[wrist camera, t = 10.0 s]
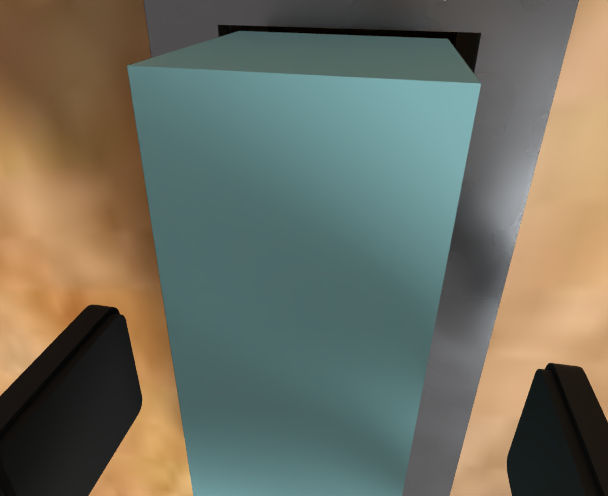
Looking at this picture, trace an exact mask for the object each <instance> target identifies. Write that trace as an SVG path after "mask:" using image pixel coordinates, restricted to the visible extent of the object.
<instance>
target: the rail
mask: <svg viewBox="0 0 608 496" xmlns="http://www.w3.org/2000/svg"><path fill="white" fill-rule="evenodd" d="M578 2H579V0H144V6H145V14H146V21H147V29H148V36H149V44H150V51H151V58H153V57H156V56H160V55H163V54H166V53H169V52H173V51H176V50H179V49H182V48H186V47H189V46H192V45H195V44H198V43H202V42H205V41H208V40H211V39H215V38H218V37H221V36H224V35H227V34H231V33H234V32H237V31H255V32H268V26H278V27H311V28H343V29H376V30H409V31H442V32H457V38H456V45H455V49H456V50H457V52H458V53H459V54H460V56H461V57H462V58H463V60H464V61H465V62H466V64H467V65H468V67H469V68H470V69H471V71H472V72H473V73H474V75H475V76H476V77H477V79H478V80H479V81H480V83H481V87H480V92H479V97H478V103H477V108H476V113H475V118H474V123H473V129H472V134H471V139H470V144H469V149H468V155H467V160H466V165H465V170H464V176H463V181H462V186H461V191H460V196H459V202H458V207H457V212H456V217H455V223H454V228H453V233H452V238H451V243H450V249H449V254H448V259H447V264H446V270H445V275H444V280H443V285H442V290H441V296H440V301H439V306H438V311H437V316H436V322H435V327H434V332H433V337H432V343H431V348H430V353H429V358H428V363H427V369H426V374H425V379H424V384H423V390H422V395H421V400H420V405H419V410H418V416H417V421H416V426H415V431H414V436H413V442H412V447H411V452H410V457H409V463H408V468H407V473H406V478H405V483H404V489H403V494H402V496H449V495H450V491H451V488H452V484H453V480H454V476H455V472H456V469H457V465H458V461H459V457H460V453H461V449H462V446H463V442H464V438H465V434H466V430H467V426H468V423H469V419H470V415H471V411H472V407H473V403H474V400H475V396H476V392H477V388H478V384H479V381H480V377H481V373H482V369H483V365H484V361H485V358H486V354H487V350H488V346H489V342H490V338H491V335H492V331H493V327H494V323H495V319H496V316H497V312H498V308H499V304H500V300H501V296H502V293H503V289H504V285H505V281H506V277H507V273H508V270H509V266H510V262H511V258H512V254H513V250H514V247H515V243H516V239H517V235H518V231H519V228H520V224H521V220H522V216H523V212H524V208H525V205H526V201H527V197H528V193H529V189H530V185H531V182H532V178H533V174H534V170H535V166H536V163H537V159H538V155H539V151H540V147H541V143H542V140H543V136H544V132H545V128H546V124H547V120H548V117H549V113H550V109H551V105H552V101H553V97H554V94H555V90H556V86H557V82H558V78H559V75H560V71H561V67H562V63H563V59H564V55H565V52H566V48H567V44H568V40H569V36H570V32H571V29H572V25H573V21H574V17H575V13H576V10H577V6H578Z"/></svg>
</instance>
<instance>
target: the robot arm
mask: <svg viewBox="0 0 608 496" xmlns="http://www.w3.org/2000/svg"><path fill="white" fill-rule="evenodd" d="M141 406H142V394H141V389H140V385H139V380H138V375H137V371H136V366H135V361H134V356H133V352H132V347H131V342H130V338H129V333H128V328H127V323H126V319H125V317H124V316H123V315H121V314H120V313H119V311H118V309H117V308H114V307H108V306H100V305H89V306H88V307H86V308H85V309H84V310H83V311H82V312H81V313H80V314H79V315H78V316H77V318H76V319H75V320H74V321H73V322H72V323H71V324H70V325H69V326H68V327H67V328H66V329H65V330H64V331H63V332H62V333H61V334H60V335H59V336H58V337H57V338H56V339H55V340H54V341H53V342H52V343H51V344H50V345H49V346H48V347H47V348H46V349H45V350H44V352H43V353H42V354H41V355H40V356H39V357H38V358H37V359H36V360H35V361H34V362H33V363H32V364H31V365H30V366H29V367H28V368H27V369H26V370H25V371H24V372H23V373H22V374H21V375H20V376H19V377H18V378H17V379H16V380H15V381H14V382H13V383H12V384H11V386H10V387H9V388H8V389H7V390H6V391H5V392H4V393H3V394H2V395H1V396H0V496H88V495H89V494H90V492H91V491H92V489H93V487H94V486H95V484H96V482H97V481H98V479H99V477H100V476H101V474H102V473H103V471H104V469H105V468H106V466H107V464H108V463H109V461H110V460H111V458H112V456H113V455H114V453H115V451H116V450H117V448H118V446H119V445H120V443H121V442H122V440H123V438H124V437H125V435H126V433H127V432H128V430H129V429H130V427H131V425H132V424H133V422H134V420H135V419H136V417H137V415H138V414H139V412H140V409H141ZM507 473H508V478H509V483H510V488H511V492H512V496H608V422H607V420H606V417H605V415H604V413H603V411H602V409H601V407H600V404H599V402H598V400H597V398H596V396H595V394H594V391H593V389H592V387H591V385H590V383H589V380H588V378H587V376H586V374H585V372H584V370H583V369H582V368H581V367H578V366H570V365H562V364H555V363H549V364H548V365H547V366H546V368H545V370H544V369H538V370H537V371H536V373H535V376H534V379H533V382H532V385H531V388H530V391H529V394H528V396H527V399H526V402H525V405H524V408H523V411H522V414H521V417H520V420H519V423H518V426H517V429H516V432H515V435H514V438H513V441H512V444H511V447H510V450H509V453H508V457H507Z"/></svg>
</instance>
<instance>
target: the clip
mask: <svg viewBox="0 0 608 496" xmlns="http://www.w3.org/2000/svg"><path fill="white" fill-rule="evenodd" d="M127 69H128V75H129V82H130V88H131V95H132V101H133V108H134V114H135V121H136V127H137V134H138V140H139V147H140V153H141V160H142V166H143V172H144V179H145V185H146V192H147V198H148V205H149V211H150V218H151V224H152V231H153V237H154V244H155V250H156V257H157V263H158V269H159V276H160V282H161V289H162V295H163V302H164V308H165V315H166V321H167V328H168V334H169V341H170V347H171V354H172V360H173V367H174V373H175V379H176V386H177V392H178V399H179V405H180V412H181V418H182V425H183V431H184V438H185V444H186V451H187V457H188V464H189V470H190V476H191V483H192V489H193V496H402V494H403V489H404V483H405V478H406V473H407V468H408V463H409V457H410V452H411V447H412V442H413V436H414V431H415V426H416V421H417V416H418V410H419V405H420V400H421V395H422V390H423V384H424V379H425V374H426V369H427V363H428V358H429V353H430V348H431V343H432V337H433V332H434V327H435V322H436V316H437V311H438V306H439V301H440V296H441V290H442V285H443V280H444V275H445V270H446V264H447V259H448V254H449V249H450V243H451V238H452V233H453V228H454V223H455V217H456V212H457V207H458V202H459V196H460V191H461V186H462V181H463V176H464V170H465V165H466V160H467V155H468V149H469V144H470V139H471V134H472V129H473V123H474V118H475V113H476V108H477V103H478V97H479V92H480V87H481V83H480V81H479V80H478V79H477V77H476V76H475V75H474V73H473V72H472V71H471V69H470V68H469V67H468V65H467V64H466V62H465V61H464V60H463V58H462V57H461V56H460V54H459V53H458V52H457V50H456V49H455V48H454V46H453V45H452V44H451V42H450V41H449V39H440V38H414V37H387V36H361V35H334V34H308V33H282V32H255V31H237V32H234V33H231V34H227V35H224V36H221V37H218V38H215V39H211V40H208V41H205V42H202V43H198V44H195V45H192V46H189V47H186V48H182V49H179V50H176V51H173V52H169V53H166V54H163V55H160V56H156V57H153V58H150V59H147V60H144V61H140V62H137V63H134V64H131V65H127Z"/></svg>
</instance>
